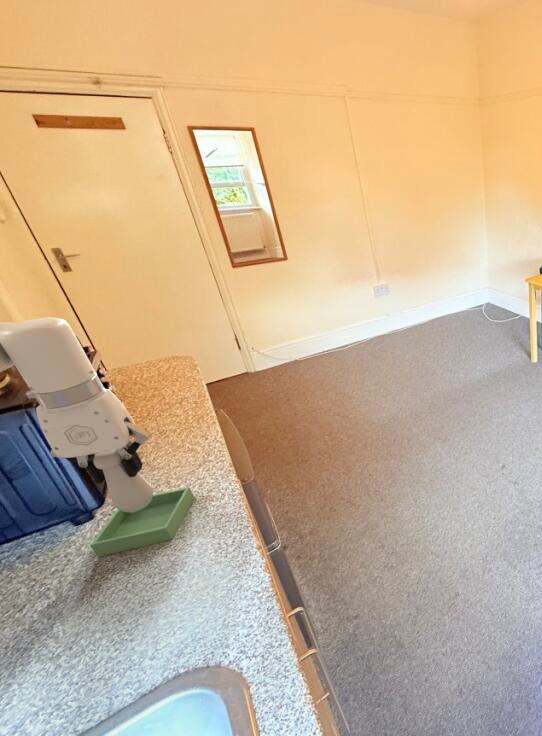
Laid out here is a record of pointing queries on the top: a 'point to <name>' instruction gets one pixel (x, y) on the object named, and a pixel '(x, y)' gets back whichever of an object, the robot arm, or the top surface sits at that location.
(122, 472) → the salt shaker
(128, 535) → the tray
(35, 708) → the top surface
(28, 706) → the top surface
